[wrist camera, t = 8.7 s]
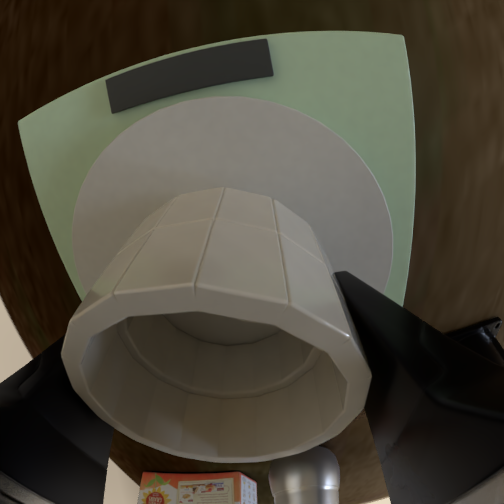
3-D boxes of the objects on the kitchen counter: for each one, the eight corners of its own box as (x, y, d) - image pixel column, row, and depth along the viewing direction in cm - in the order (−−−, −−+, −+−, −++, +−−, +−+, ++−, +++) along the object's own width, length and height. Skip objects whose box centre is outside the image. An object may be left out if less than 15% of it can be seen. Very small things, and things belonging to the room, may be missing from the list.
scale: (380, 43, 8) (415, 30, 6) (381, 329, 15) (397, 366, 12) (45, 115, 9) (3, 124, 7) (139, 355, 16) (126, 392, 14)
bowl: (318, 168, 8) (391, 255, 4) (326, 336, 11) (352, 450, 7) (106, 206, 9) (9, 301, 4) (167, 352, 12) (140, 457, 7)
